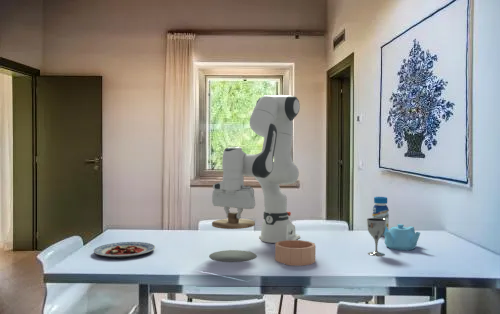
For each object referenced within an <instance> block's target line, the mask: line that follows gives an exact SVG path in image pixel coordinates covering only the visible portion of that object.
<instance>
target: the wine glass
mask: <svg viewBox="0 0 500 314" xmlns="http://www.w3.org/2000/svg"><path fill="white" fill-rule="evenodd" d="M366 225H367V226H366V227H367V231H368V233H369V235H370V236H371V237H372V239H373V240H374V245H375V246H374V247H375V249H374V251H370V252H367V254H368V255H369V256H372V257H384V256H385V255H386V254H385V253H384V252H380V251H378V243H379V240H380V239H381V237H383V236H382V235H383V234H384V232H385V229H386V219H382V218H373V217H368V218H367V219H366Z"/></svg>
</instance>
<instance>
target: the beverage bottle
mask: <svg viewBox="0 0 500 314" xmlns="http://www.w3.org/2000/svg"><path fill="white" fill-rule="evenodd" d="M373 204H374V206H373V208H372V213H371V215H372V218H382V219H386V226H387V228H388V229H389V226H390V225H389V221H390V220H389V217H390V215H389V211H390V210H389V207H388V205H387V204H388V197H386V196H374V197H373ZM381 237H385V236H384V234H383V235H382V236H381Z"/></svg>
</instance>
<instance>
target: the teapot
mask: <svg viewBox="0 0 500 314" xmlns="http://www.w3.org/2000/svg"><path fill="white" fill-rule="evenodd" d="M396 225H397V226H392V227H390V228H389V227H388V228H387V226H386V229H385V232H384V236H383V237H384V244H385V246H386V247H387V248H388V249H391V250H396V251H397V250H398V251H411V250H412V251H413V250H414V249H415V248H416V247H417V244H418V241H419V238H420V235H421V232H420V231H415V226H411V225H410V226H408V227H407V226H404V224H403V223H398V224H396Z"/></svg>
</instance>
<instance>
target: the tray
mask: <svg viewBox="0 0 500 314" xmlns="http://www.w3.org/2000/svg"><path fill="white" fill-rule="evenodd" d="M208 257H209V259H211V260H213V261H217V262H222V263H241V262H249V261H253V260H255V259H257V257H258V256H257V254H256V253H254V252H252V251H248V250H240V249H239V250H238V249H235V250H234V249H232V250H231V249H229V250H218V251H215V252H211V254H209V256H208Z"/></svg>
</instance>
